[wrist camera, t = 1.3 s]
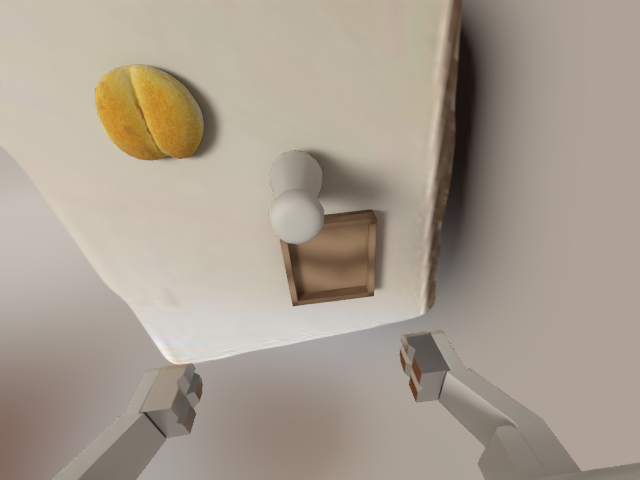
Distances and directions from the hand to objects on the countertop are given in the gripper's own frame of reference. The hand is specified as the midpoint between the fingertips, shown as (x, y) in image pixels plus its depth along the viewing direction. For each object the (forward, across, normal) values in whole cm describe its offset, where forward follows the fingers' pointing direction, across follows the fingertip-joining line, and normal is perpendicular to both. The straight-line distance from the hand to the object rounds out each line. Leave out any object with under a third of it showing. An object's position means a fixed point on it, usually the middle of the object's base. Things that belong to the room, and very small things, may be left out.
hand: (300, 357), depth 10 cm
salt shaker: (+24, 0, 0) cm, 24 cm away
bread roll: (+24, +13, -7) cm, 28 cm away
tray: (+24, -3, +12) cm, 27 cm away
